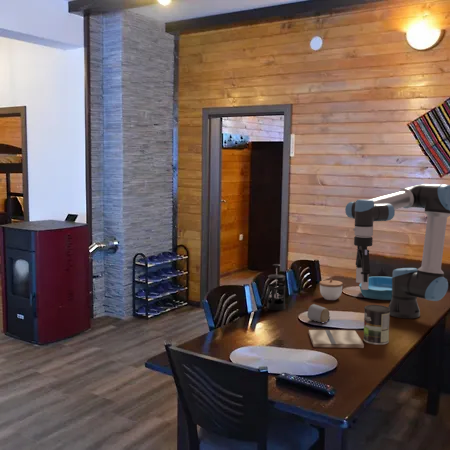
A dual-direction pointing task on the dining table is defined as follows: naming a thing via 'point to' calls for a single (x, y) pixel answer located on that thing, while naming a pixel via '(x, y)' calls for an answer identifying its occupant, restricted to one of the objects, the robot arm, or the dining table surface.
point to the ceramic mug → (318, 313)
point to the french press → (280, 296)
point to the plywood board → (335, 338)
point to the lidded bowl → (331, 289)
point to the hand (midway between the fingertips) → (361, 286)
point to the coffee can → (376, 324)
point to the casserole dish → (378, 288)
